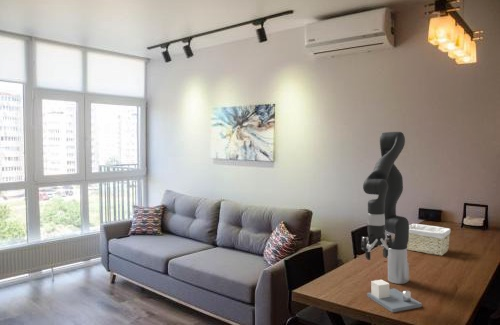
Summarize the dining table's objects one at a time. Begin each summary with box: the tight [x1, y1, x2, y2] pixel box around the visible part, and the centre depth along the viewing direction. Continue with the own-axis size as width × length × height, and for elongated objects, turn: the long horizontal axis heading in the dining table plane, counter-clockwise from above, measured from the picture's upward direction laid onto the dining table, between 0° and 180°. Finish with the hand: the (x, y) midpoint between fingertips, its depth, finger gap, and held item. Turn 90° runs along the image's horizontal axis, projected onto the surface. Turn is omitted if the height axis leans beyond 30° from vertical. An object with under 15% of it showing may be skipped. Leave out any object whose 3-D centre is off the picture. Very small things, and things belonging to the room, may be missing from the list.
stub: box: [402, 290, 412, 302], centre depth 168 cm, size 3×3×4 cm
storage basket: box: [407, 223, 451, 256], centre depth 243 cm, size 24×16×15 cm
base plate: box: [366, 287, 423, 313], centre depth 171 cm, size 15×18×2 cm
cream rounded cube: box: [370, 279, 390, 299], centre depth 174 cm, size 6×6×6 cm
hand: (376, 258), depth 174 cm, fingers open, 8 cm apart
